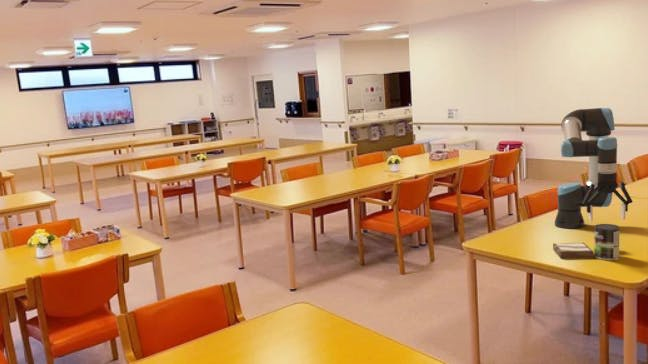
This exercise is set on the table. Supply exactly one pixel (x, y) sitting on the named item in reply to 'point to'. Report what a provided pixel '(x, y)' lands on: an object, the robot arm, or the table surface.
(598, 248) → the coffee can
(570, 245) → the picture frame
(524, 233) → the table surface
